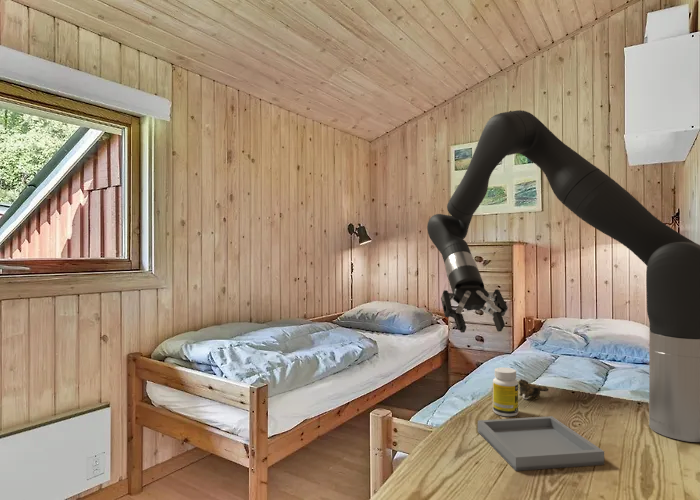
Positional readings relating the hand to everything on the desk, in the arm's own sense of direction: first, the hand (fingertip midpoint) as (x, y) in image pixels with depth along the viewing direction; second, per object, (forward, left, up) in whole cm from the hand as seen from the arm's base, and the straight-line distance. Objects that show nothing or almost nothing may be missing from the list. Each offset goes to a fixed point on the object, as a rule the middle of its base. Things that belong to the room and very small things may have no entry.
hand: (482, 330), depth 101 cm
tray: (+2, +26, -14) cm, 30 cm away
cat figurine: (-10, +4, -14) cm, 18 cm away
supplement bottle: (0, +11, -14) cm, 18 cm away
